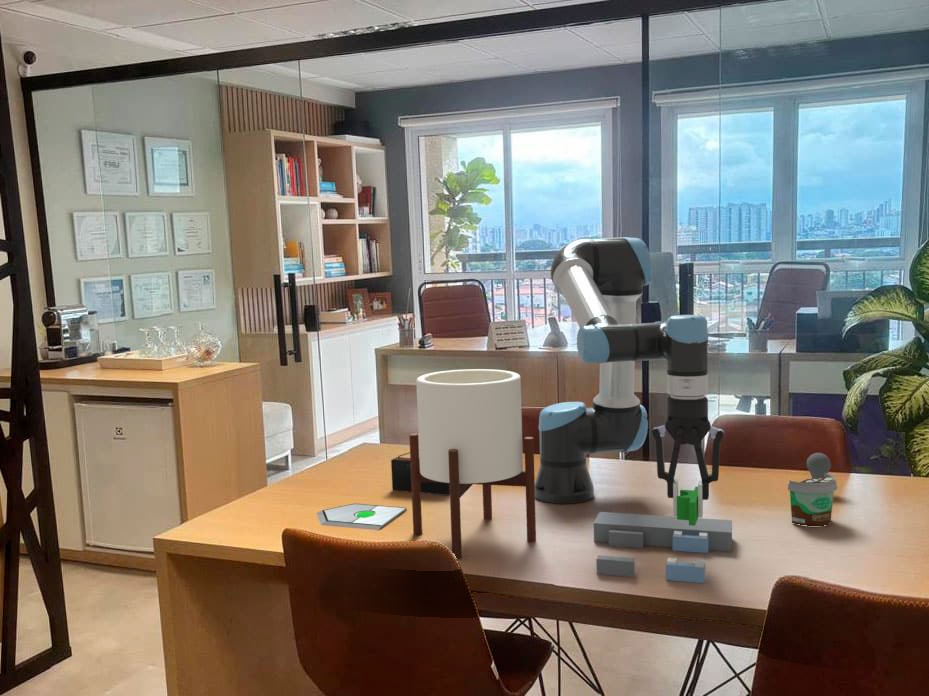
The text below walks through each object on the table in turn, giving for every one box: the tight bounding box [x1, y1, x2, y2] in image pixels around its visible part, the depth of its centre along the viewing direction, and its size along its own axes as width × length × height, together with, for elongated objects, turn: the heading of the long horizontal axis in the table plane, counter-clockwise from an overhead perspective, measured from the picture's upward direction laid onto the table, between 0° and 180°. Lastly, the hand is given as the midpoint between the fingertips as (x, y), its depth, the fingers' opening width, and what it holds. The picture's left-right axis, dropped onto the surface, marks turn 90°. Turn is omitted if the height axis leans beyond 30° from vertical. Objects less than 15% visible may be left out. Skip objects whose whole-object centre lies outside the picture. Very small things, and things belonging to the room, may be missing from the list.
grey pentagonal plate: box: [316, 503, 407, 531], centre depth 203 cm, size 17×22×2 cm
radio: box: [390, 451, 450, 496], centre depth 220 cm, size 19×3×15 cm, turn 68°
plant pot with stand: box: [408, 368, 537, 561], centre depth 183 cm, size 22×22×36 cm
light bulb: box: [806, 452, 832, 479], centre depth 208 cm, size 6×6×10 cm
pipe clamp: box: [676, 486, 698, 526], centre depth 164 cm, size 11×4×5 cm, turn 158°
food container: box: [787, 473, 838, 527], centre depth 185 cm, size 12×6×10 cm, turn 118°
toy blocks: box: [593, 511, 733, 584], centre depth 170 cm, size 28×26×4 cm
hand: (688, 514), depth 163 cm, fingers closed on pipe clamp, 4 cm apart
